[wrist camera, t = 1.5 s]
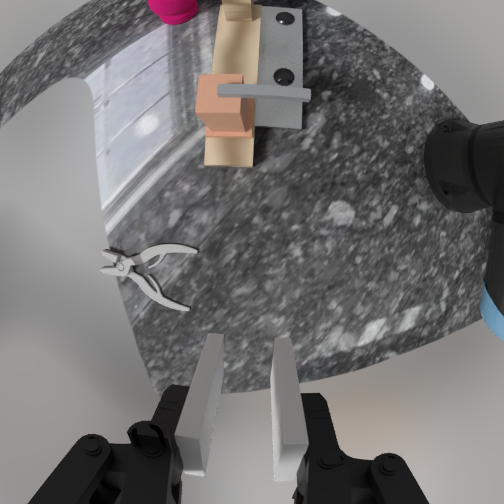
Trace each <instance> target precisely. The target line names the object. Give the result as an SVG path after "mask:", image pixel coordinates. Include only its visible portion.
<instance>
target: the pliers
mask: <svg viewBox="0 0 504 504" xmlns="http://www.w3.org/2000/svg"><path fill="white" fill-rule="evenodd" d="M172 252H183V253H195V254H197V252H198V250H197V249H194V248H192V247H188V246H185V245H180V244H161V245H156V246H153V247H150V248H148V249H146V250H145V251H144V252H142V253H141V254H139V255H137V256H132V257H126V256H124V255H122V254H119V253H116V252H113V251H110V250H109V249H105V250H103V251H102V252H101V255H103V256H104V257H106V258H108V259H109V260H111V261H113V262H115V263H117V265H116V266H104V267H102V268H100V271H101V273H106V274H110V275H115V276H128V277H130V278H132V279H133V280H134V281H135V282H136V283H137V284H138V285H139V286H140V288H141V289H142V290H143V291H144V292H145V293H146V294H147V295H148V296H149V297H150V298H152V299H153V300H155V301H157V302H158V303H160V304H162V305H164V306H167V307H169V308H173V309H176V310H183V311H189V310H190V307H187V306H184V305H182V304H179V303H176V302H174V301H172V300H170V299H168V298H166V297H164V296H163V295H162V293H161V290H160V287H159V285H158V284H157V282H156V281H155V280H154V279H153V277H151V276H150V275H148V277H149V278H150V279H151V280H152V282H153V283H154V284H155V286H156V288H157V292H156V291H155V290H154V289H153V288H152V287H151V286H150V285H149V283H148V282H147V281H146V280H145V278H144V277H143V276H141V275H139V274H137V273H135V272H134V271H133V266H132V265H138V264H142V263H145V262H146V261H148V260H149V259H151V258H152V257H154V256H156V255H159V254H161V256H160V259H159V260H158V261H157V262H156V263H155V264H153V265H151V266H149V267H148V268H151V267H154V266H156V265H157V264H159V263H160V262H161V261H162V259H163V258H164V256H165V254H167V253H172Z"/></svg>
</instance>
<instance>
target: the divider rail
mask: <svg viewBox="0 0 504 504" xmlns="http://www.w3.org/2000/svg"><path fill="white" fill-rule="evenodd" d="M222 4H223V5H221V6H220V13H219V19H218V26H217V34H216V41H215V49H214V57H213V66H212V74H243V79H244V84H255V85H257V79H258V62H259V45H260V28H261V12H262V5H253V0H222ZM252 99H254V115H253V132H252V138H207V137H206V145H205V162H204V165H206V166H230V167H253V154H254V136H255V114H256V98H252Z"/></svg>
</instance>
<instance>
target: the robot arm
mask: <svg viewBox="0 0 504 504" xmlns="http://www.w3.org/2000/svg"><path fill="white" fill-rule="evenodd" d="M424 162H425V170H426V175H427V178H428V181H429V184H430V187H431V189H432V191H433V193H434V194H435V196H436V197H437V199H438V200H439V201H440V202H441V203H442V204H443V205H444V206H445V207H446V208H448V209H450V210H452V211H456V212H461V213H471V212H475V211H478V210H481V209H484V208H487V207H489V206H493V217H492V229H491V239H490V248H489V255H488V262H487V268H486V274H485V275H484V278H483V291H482V296H481V301H480V311H481V315H482V317H483V319H484V322H485V323H486V325H487V326H488V328H489V329H490V330H491V331H492V332H493V333H494V334H495V335H496V336H498V337H499V338H500V339H502V340H503V341H504V120H503V121H499V122H493V123H488V124H483V125H478V124H474V123H470V122H466V121H462V120H456V119H453V120H448V121H444V122H441V123H439V124H437V125H436V126H435V127H434V128H433V129H432V130H431V132H430V133H429V135H428V138H427V141H426V145H425V152H424ZM223 376H224V334H213V333H208V336H207V339H206V342H205V344H204V347H203V350H202V353H201V356H200V359H199V362H198V365H197V368H196V371H195V374H194V377H193V380H192V383H191V386H190V387H187V386H180V385H174V384H172V385H171V386H170V387H168V388H167V389H166V390H165V391H164V393H163V395H162V397H161V400H160V402H159V404H158V406H157V409H156V411H155V413H154V415H153V418H152V420H151V421H140V422H137V423H135V424H134V425H132V426H131V427H130V428H129V430H128V431H127V433H128V436H129V438H130V441H131V444H112V443H109V442H108V441H107V439H105V438H104V437H102V436H100V435H97V434H88V435H85V436H83V437H81V438H80V439H79V440H78V441H77V442H76V443H75V445H74V446H73V447H72V448H71V450H70V451H69V452H68V453H67V455H66V456H65V457H64V458H63V459H62V461H61V462H60V463H59V464H58V466H57V467H56V468H55V470H54V471H53V472H52V473H51V475H50V476H49V477H48V478H47V480H46V481H45V482H44V484H43V485H42V486H41V487H40V489H39V490H38V491H37V492H36V494H35V495H34V496H33V498H32V499H31V500H30V501H29V503H28V504H181V494H182V481H181V474H182V471H183V470H184V473H185V474H191V475H197V476H205V472H206V467H207V461H208V456H209V451H210V445H211V440H212V435H213V429H214V424H215V419H216V413H217V408H218V402H219V397H220V392H221V387H222V382H223ZM271 402H272V403H271V404H272V428H273V429H272V430H273V458H274V459H273V462H274V481H294V480H295V478H296V476H297V485H298V486H297V488H296V490H295V492H294V494H293V497H292V499H294V504H429V502H428V501H427V499H426V497H425V495H424V494H423V492H422V490H421V488H420V486H419V485H418V483H417V481H416V479H415V478H414V476H413V474H412V473H411V471H410V469H409V468H408V466H407V464H406V462H405V461H404V460H403V459H402V458H401V457H400V456H398V455H396V454H392V453H385V454H381V455H379V456H377V457H376V458H375V459H374V460H363V459H356V458H352V457H349V456H347V455H346V454H345V453H344V452H343V451H342V450H341V449H340V448H339V445H338V442H337V439H336V435H335V430H334V427H333V423H332V419H331V416H330V412H329V408H328V405H327V401H326V400H325V398H324V397H323V396H322V395H321V394H320V393H300V388H299V382H298V376H297V371H296V365H295V359H294V354H293V348H292V343H291V338H275V345H274V354H273V362H272V371H271Z"/></svg>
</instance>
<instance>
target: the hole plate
mask: <svg viewBox="0 0 504 504" xmlns="http://www.w3.org/2000/svg"><path fill="white" fill-rule="evenodd" d="M257 85H274V86H287V87H297V88H303V30H302V9H293V8H282V7H267V6H262V12H261V28H260V45H259V62H258V79H257ZM255 127H259V128H275V129H288V130H299V131H301V129H302V102H300V101H290V100H278V99H263V98H256V114H255Z"/></svg>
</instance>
